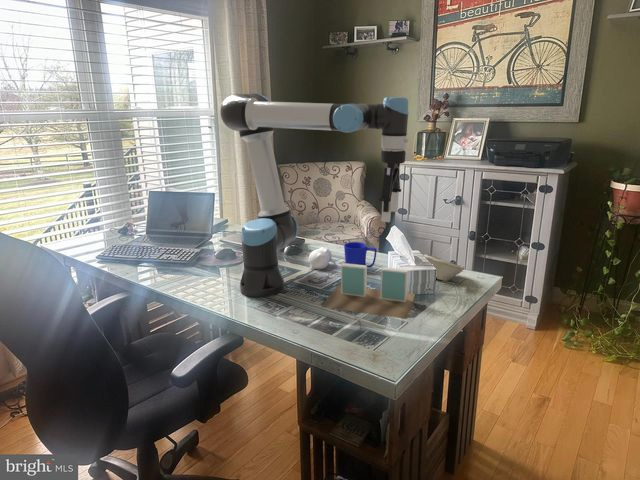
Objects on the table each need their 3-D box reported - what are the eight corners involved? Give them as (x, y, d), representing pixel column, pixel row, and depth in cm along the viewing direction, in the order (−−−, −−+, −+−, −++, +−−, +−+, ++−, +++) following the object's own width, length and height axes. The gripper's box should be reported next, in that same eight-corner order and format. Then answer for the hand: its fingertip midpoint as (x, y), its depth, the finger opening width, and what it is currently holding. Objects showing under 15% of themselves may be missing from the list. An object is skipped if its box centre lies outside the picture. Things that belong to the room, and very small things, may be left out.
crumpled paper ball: (323, 239, 176) (312, 247, 165) (344, 255, 174) (335, 264, 164) (312, 256, 179) (301, 265, 168) (333, 271, 178) (323, 282, 167)
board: (321, 310, 137) (321, 306, 137) (338, 287, 153) (338, 284, 153) (406, 322, 129) (406, 318, 128) (415, 297, 145) (415, 293, 145)
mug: (375, 275, 164) (375, 249, 161) (342, 273, 166) (342, 248, 163) (377, 267, 171) (377, 242, 168) (345, 266, 174) (345, 241, 171)
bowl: (472, 282, 156) (474, 255, 153) (443, 291, 149) (445, 263, 146) (440, 269, 169) (442, 244, 166) (412, 277, 162) (413, 250, 159)
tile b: (380, 299, 141) (381, 269, 138) (381, 296, 143) (382, 267, 140) (405, 302, 139) (407, 272, 136) (406, 299, 141) (408, 269, 138)
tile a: (341, 294, 146) (340, 265, 143) (342, 291, 148) (342, 263, 145) (364, 297, 143) (365, 267, 140) (366, 294, 145) (366, 265, 142)
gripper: (399, 154, 125) (394, 227, 132) (411, 146, 148) (406, 208, 154) (372, 153, 128) (369, 225, 134) (388, 145, 150) (385, 206, 157)
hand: (389, 216), depth 144 cm, fingers open, 13 cm apart
